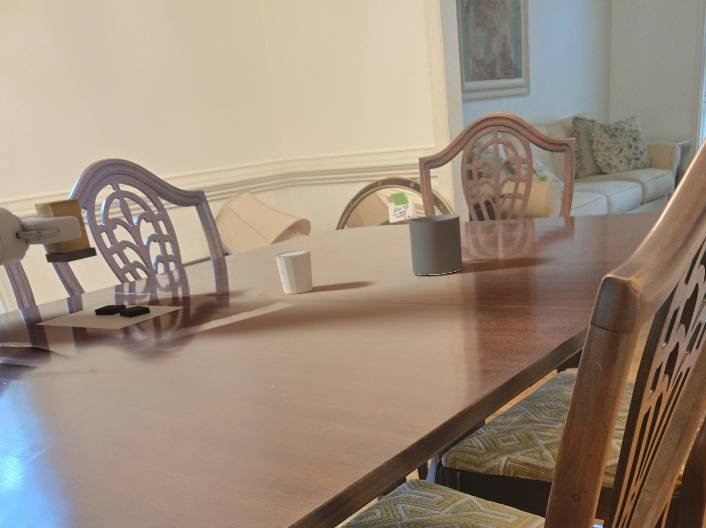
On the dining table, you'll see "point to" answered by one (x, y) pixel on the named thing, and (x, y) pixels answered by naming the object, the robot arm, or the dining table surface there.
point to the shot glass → (295, 271)
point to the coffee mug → (435, 244)
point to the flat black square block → (134, 311)
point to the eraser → (70, 248)
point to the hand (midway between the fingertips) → (66, 224)
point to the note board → (106, 318)
